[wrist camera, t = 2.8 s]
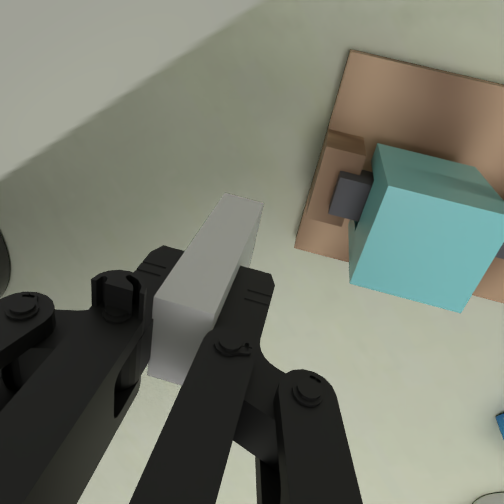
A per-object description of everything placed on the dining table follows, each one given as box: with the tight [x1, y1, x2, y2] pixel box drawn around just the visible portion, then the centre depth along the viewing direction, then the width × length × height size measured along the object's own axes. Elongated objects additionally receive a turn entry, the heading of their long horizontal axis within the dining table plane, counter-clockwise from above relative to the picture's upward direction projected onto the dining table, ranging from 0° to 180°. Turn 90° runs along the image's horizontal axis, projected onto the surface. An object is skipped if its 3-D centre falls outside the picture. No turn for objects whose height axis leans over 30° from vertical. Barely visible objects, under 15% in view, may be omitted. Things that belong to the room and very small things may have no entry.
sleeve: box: [348, 143, 504, 313], centre depth 20 cm, size 5×5×6 cm
